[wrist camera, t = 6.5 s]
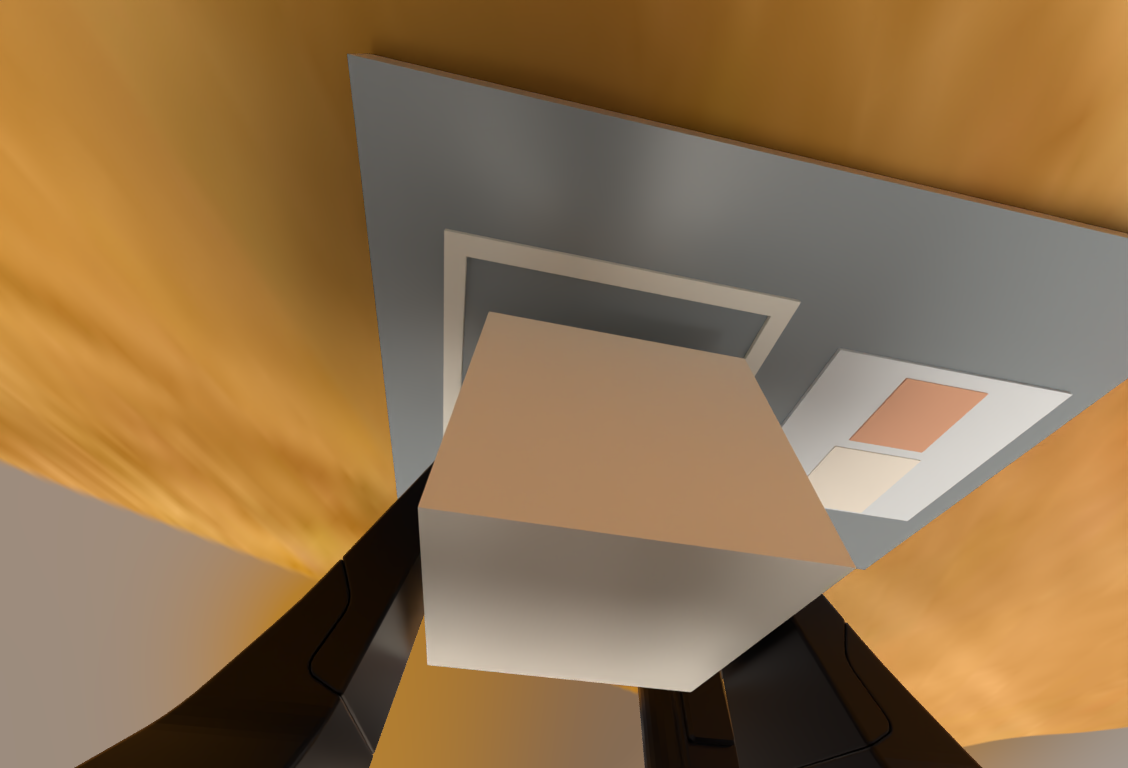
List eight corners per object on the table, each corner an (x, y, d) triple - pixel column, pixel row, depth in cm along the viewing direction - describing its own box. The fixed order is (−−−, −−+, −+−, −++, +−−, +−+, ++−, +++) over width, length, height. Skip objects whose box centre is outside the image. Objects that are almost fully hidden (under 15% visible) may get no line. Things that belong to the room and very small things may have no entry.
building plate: (852, 548, 19) (866, 573, 18) (406, 484, 17) (396, 508, 16) (1218, 255, 10) (1281, 275, 9) (369, 53, 8) (343, 53, 7)
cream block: (659, 505, 13) (690, 692, 9) (475, 478, 13) (427, 665, 9) (744, 358, 10) (856, 567, 6) (489, 311, 9) (417, 507, 5)
